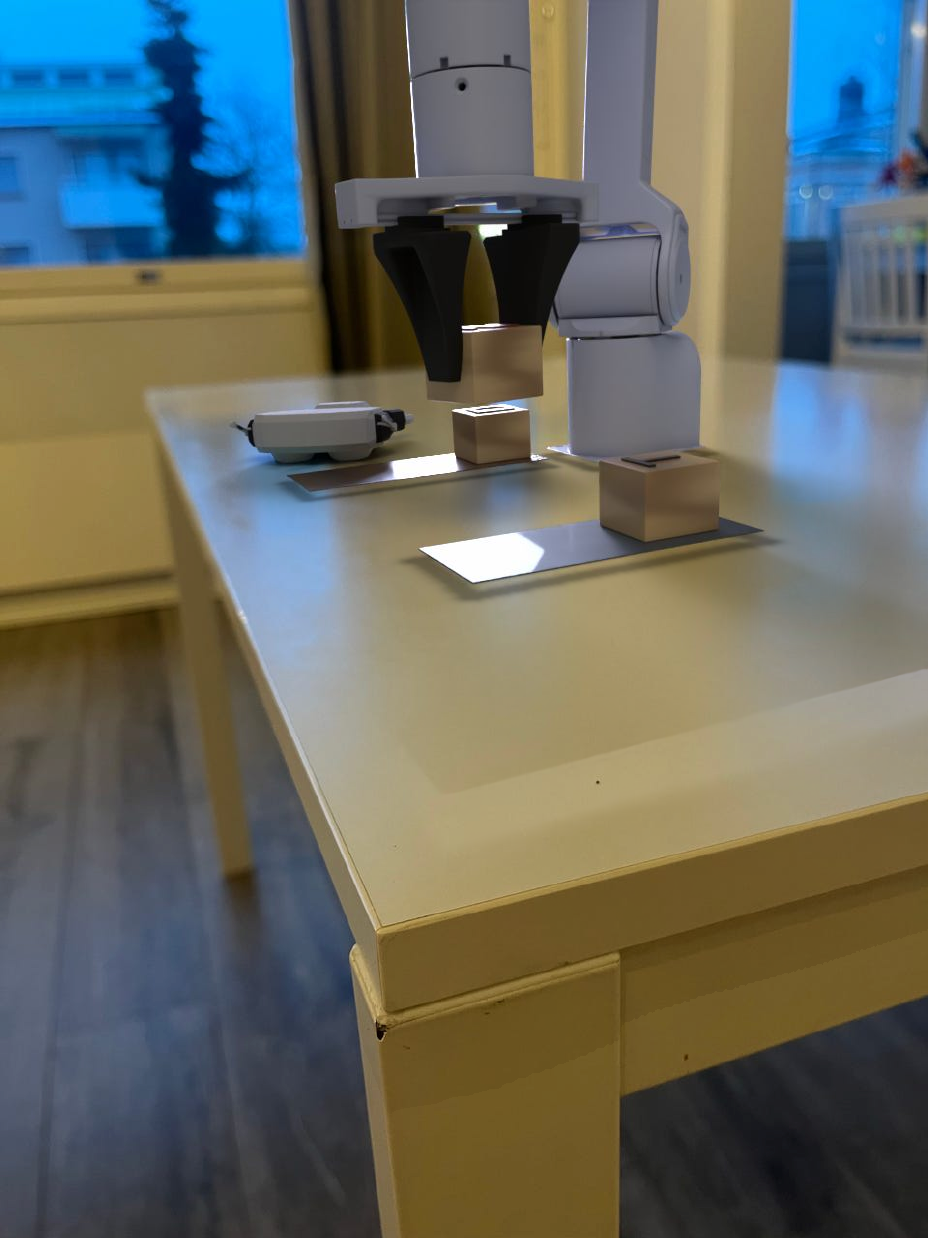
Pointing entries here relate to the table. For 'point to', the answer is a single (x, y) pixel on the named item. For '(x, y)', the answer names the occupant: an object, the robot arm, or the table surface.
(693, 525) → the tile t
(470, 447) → the tile
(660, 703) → the table surface
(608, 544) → the strip front
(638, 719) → the table surface
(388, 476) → the strip back
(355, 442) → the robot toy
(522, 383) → the tile
